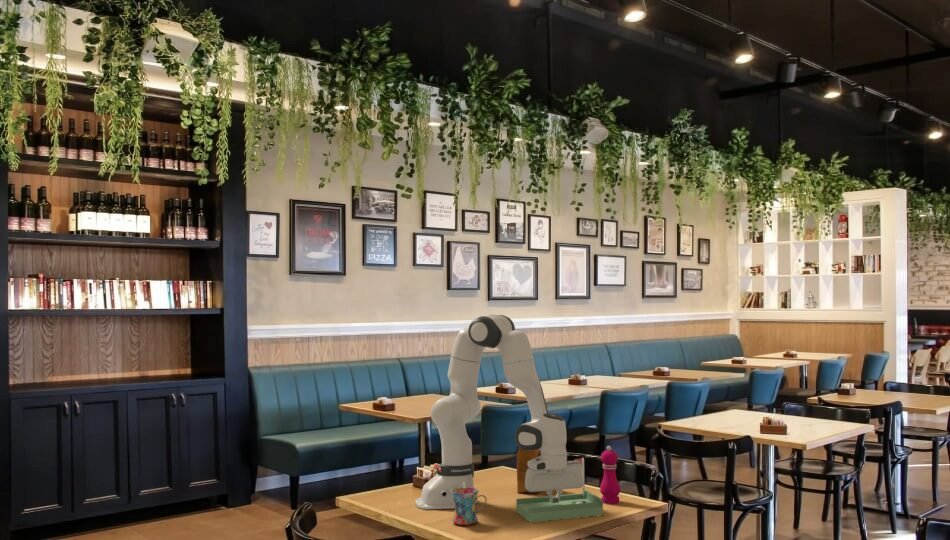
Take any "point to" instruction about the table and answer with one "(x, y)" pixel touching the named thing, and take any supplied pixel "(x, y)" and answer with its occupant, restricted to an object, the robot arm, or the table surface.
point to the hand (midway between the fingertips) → (554, 502)
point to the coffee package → (524, 467)
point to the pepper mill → (609, 477)
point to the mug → (465, 505)
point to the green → (561, 505)
